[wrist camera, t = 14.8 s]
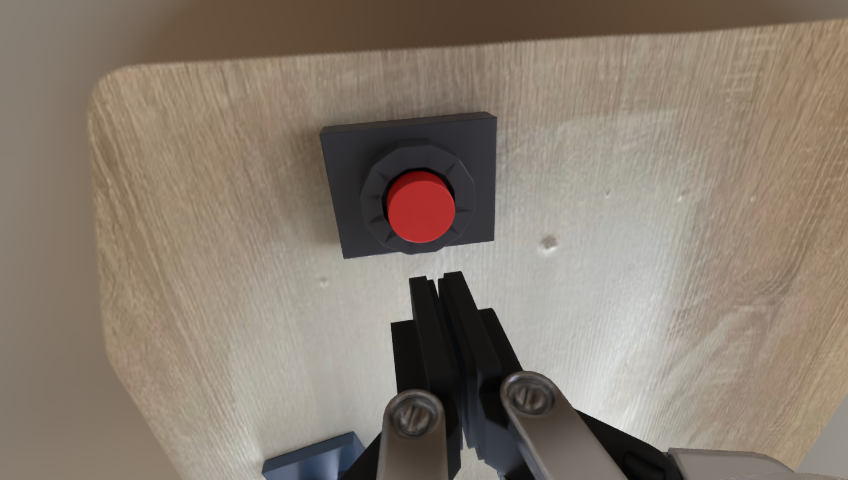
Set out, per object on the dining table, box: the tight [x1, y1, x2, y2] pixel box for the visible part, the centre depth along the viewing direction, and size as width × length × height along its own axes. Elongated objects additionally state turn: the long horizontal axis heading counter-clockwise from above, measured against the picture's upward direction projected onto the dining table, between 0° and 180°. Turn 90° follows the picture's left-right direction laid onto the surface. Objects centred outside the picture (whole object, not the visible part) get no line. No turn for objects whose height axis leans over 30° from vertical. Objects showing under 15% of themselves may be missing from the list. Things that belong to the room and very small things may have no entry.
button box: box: [320, 112, 497, 259], centre depth 23 cm, size 10×8×4 cm
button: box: [387, 171, 455, 243], centre depth 21 cm, size 4×4×2 cm
